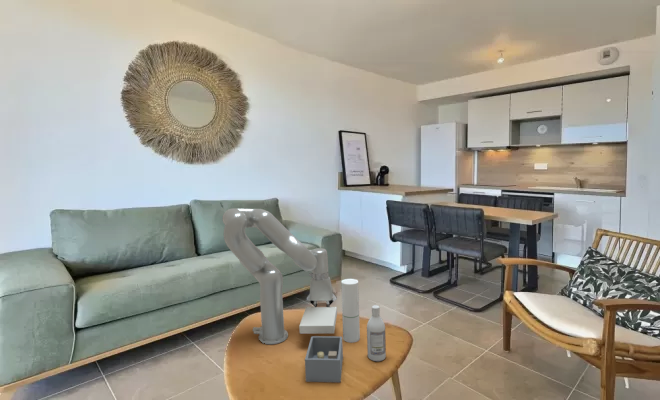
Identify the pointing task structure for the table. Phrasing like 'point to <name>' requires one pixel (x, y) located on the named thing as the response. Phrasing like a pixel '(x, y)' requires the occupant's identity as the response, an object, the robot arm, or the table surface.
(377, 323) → the bath foam
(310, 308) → the lid
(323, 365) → the tub
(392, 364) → the table surface
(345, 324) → the cylindrical container
